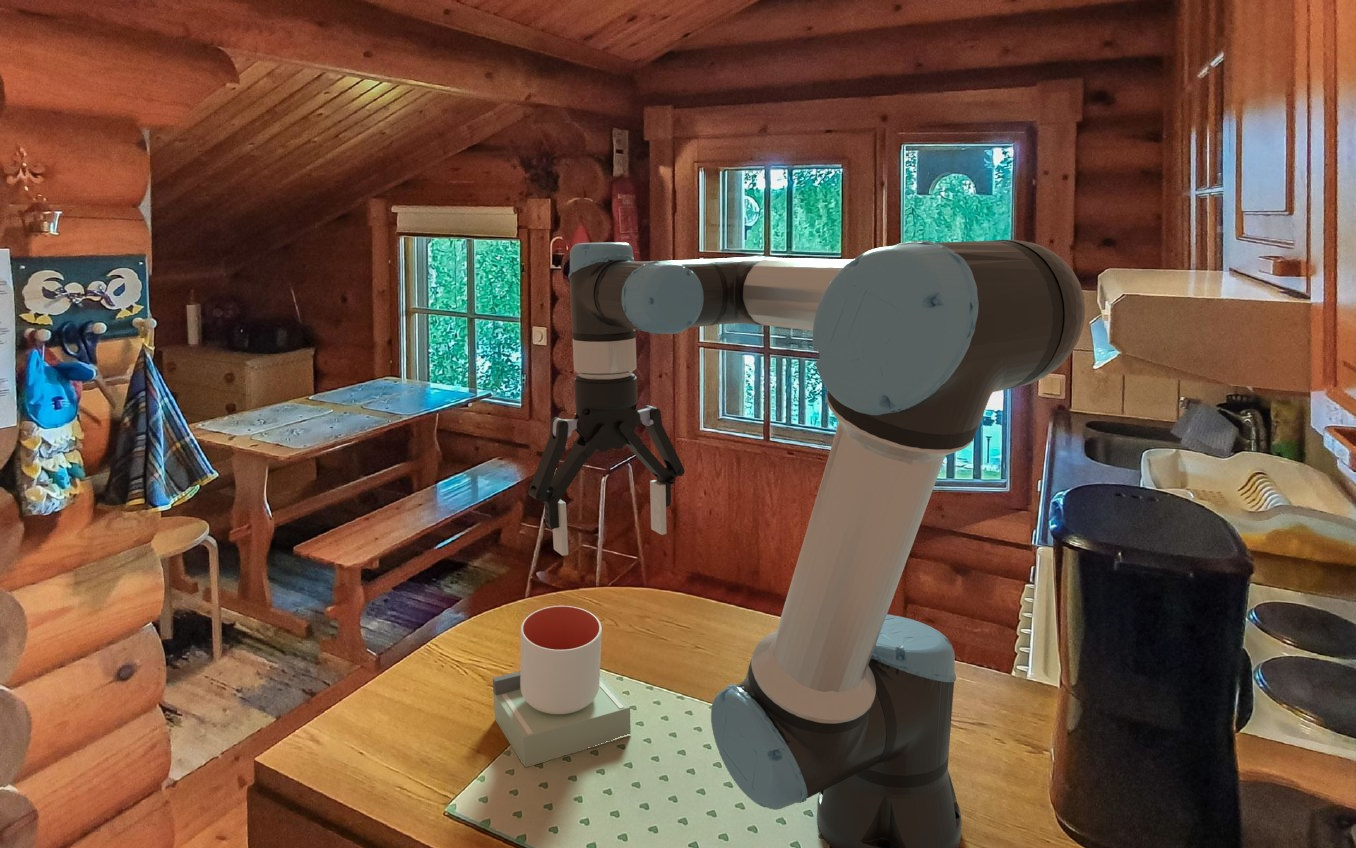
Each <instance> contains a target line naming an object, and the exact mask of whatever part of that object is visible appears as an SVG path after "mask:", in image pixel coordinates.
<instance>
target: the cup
mask: <svg viewBox="0 0 1356 848" xmlns="http://www.w3.org/2000/svg"><path fill="white" fill-rule="evenodd" d="M600 621H601V620H599V618H598V617H597V616H596V615H595V614H593V613H591V612H590V611H589V610H586V609H584V608H582V607H581V608H580V607H575V606H570V605H555V606H554V605H553V606H547V607H544V608H543V607H542V608H540V609H538V610H535V611H534V612H532V613H530V614H529V615H528V616H526V618H525V619H524V620H523V621H522V623H521V625H520V653H519V654H520V657H519V659H520V688H521V693H522V696H523V698H524V699H525V701H526V702H527V703H528V704H529V705H530V706H532V707H533V708H535V709H536V710H539V711H541V712H544V713H548V714H569V713H573V712H576V711H579V710H581V709H583V708H585V707H586V706H588V705H589V704H590V703H591V702H592V701H593V700H594V698H595V697H596V695H597V693H598V691H599V684H600V675H601V656H602V655H601V654H602V635H603V634H602V629H603V628H602V623H601V622H600Z"/></svg>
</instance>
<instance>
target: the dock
mask: <svg viewBox="0 0 1356 848" xmlns="http://www.w3.org/2000/svg"><path fill="white" fill-rule="evenodd" d="M492 691H493V707H494V720H495V722H496V724H497V725H498V727H499V728H500V730H501V731H502V733H503V734H504V735H503V736H504V737H505V738H506V740H507V741H508V743H509V745H510V746H511V747H512V749H513V751H514V752H515V755H517V757H518V759H519V760H520V762H521V763H522V766H523V767H524V768H528V767H531V766H535V765H538V764H543V763H544V762H548V761H551V760H552V761H553V760H555V759H558V758H562V757H565V756H568V755H571V753H572V754H575V753H578V752H577V751H579V752H581V751H580V750H582V751H585V750H587V749H586V748H588V747H592V748H594V747H593V746H595V745H598V744H601V743H605V742H606V741H611V740H613V739H615V738H618V737H620V736H624V735H627V734H631V707H630V706H629V705H628V703H626V701H625V700H624V699H623V698H622V697H621V695H620V694H618V693H617V692H616V690H615V689H614V688H613V687H612V685H610V684H609V682H608V681H606V679H605V678H604V677H603V676H602V675H601V674H600V684H599V691H598V693H597V695H596V697H595V698H594V700H593V701H592V702H591V703H590V704H589V705H588V706H586V707H585V708H583V709H581V710H579V711H576V712H573V713H569V714H548V713H544V712H541V711H539V710H536V709H535V708H533V707H532V706H530V705H529V704H528V703H527V702H526V701H525V699H524V698H523V696H522V693H521V688H520V671H515V672H513V673H508V674H504V675H500V676H496V677H492ZM631 735H632V734H631ZM605 744H606V743H605ZM595 747H596V746H595ZM584 749H585V750H584ZM564 755H565V756H564Z"/></svg>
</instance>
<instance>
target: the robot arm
mask: <svg viewBox="0 0 1356 848" xmlns="http://www.w3.org/2000/svg"><path fill="white" fill-rule="evenodd" d="M567 276H568V277H567V278H568V281H569V282H568V283H569V296H570V298H569V299H570V314H571V332H572V356H573V370H574V372H575V373H577V375H576V376H575V378H574V379H573V382H574V403H575V404H574V405H575V416H574V417H573V418H571V419H569V418H568V419H561V418H560V417H557V416H554V417H553V418H552V419H551V420H550V432H549V437H548V440H547V443H546V445H545V447H544V450H543V452H542V455H541V458H540V460H539V463H538V464H537V467H536V470H535V473H534V476H533V477H532V480H531V482H530V484H529V487H528V491H527V493H528V495H529V496H530V497H532V498H533V499H535V500H537V501H539V502H544V521H545V524H546V526H547V527H548V528H549V529H551V530H552V541H553V544H552V545H553V550H554V551H555V552H557V553H558V554H560V555H561V556H562V557H564V556H568V555H569V539H568V520H567V518H568V517H567V516H568V515H567V502H565V501H564V500H562V497H563V496H564V494H565V493H566V491H567V490H568V488H569V487H570V486H571V484H572V483H573V481H574V479H575V478H576V476H577V475H578V474H579V472H580V471H581V469H582V468H583V466H584V465H585V463H586V461H587V460H588V459H589V458H591V457H592V456H593V455H594V452H595V451H596V452H600V453H602V452H607V451H609V450H611V449H612V450H613V449H614V450H622V449H624V447H627V448H628V449H629V451H631V452H632V454H634V456H636V457H637V459H638V460H639V461H640V462H641V463H642V464H643V465H644V466H645V467H646V469H648V470H649V472H650V473H651V474H652V475H653V476H654V477H655V479H653V480H649V494H650V495H649V497H650V500H649V501H650V529H651V530H652V531H654V532H655V533H658V534H659V535H661V536H663V535H667V507H670V506H671V504H672V485H674V484H675V483H676V480H677V479H676V478H677V477H682V476H683V475H684V474H685V473H686V472H685V468H684V465H683V463H682V462H681V460H680V458H679V455H678V453H677V451H676V449H675V448H674V445H673V443H672V442H671V440H670V438H669V436H668V434H667V433H668V432H667V431H666V429H665V428H664V425H663V420H662V413H661V412H662V411H661V410H660V408H657V407H654V406H651V405H648V404H646V405H644V407H643V408H642V409H639V410H638V407H637V403H638V378H637V376H636V375H635V374H634V373H633V372H634V371H635V370H636V369H637V368H638V367H637V343H636V336H637V335H636V330H637V331H642V332H645V333H649V334H651V335H657V336H659V335H660V334H661V335H662V334H664V335H665V334H669V335H675V334H680V333H683V332H685V331H686V330H687V329H689V328H698V327H699V328H700V327H708V326H714V325H716V326H717V325H731V324H746V325H755V326H769V327H775V328H776V327H777V328H786V329H792V330H793V329H794V330H804V331H810V332H812V350H813V351H814V352H818V355H819V358H818V360H817V361H815V366H816V367H815V368H816V370H817V373H818V376H819V378H820V380H821V383H822V384H823V385H824V387H825V389H826V390H827V392H826V396H825V397H826V404H827V406H828V408H829V409H830V410H831V412H832V414H833V415H834V417H835V418H836V420H837V421H838V424H837V426H836V427H837V428H836V430H835V433H834V436H833V440H832V444H831V448H830V450H829V454H828V458H827V461H826V464H825V467H824V471H823V475H822V478H821V481H820V484H819V487H818V491H817V494H816V497H815V501H814V504H813V508H812V511H811V514H810V518H809V522H808V525H807V528H806V532H805V535H804V538H803V542H802V545H801V548H800V551H799V555H798V557H797V558H798V559H797V562H796V564H795V565H796V566H795V568H794V572H793V575H792V579H791V582H790V586H789V589H788V592H787V596H786V597H785V598H786V599H785V602H784V605H783V609H782V613H781V615H780V618H779V622H778V626H777V629H776V631H772V632H770V633H768V634H766V635H765V636H763V638H761V640H760V641H758V643H757V644H756V646H755V648H754V649H753V652H752V655H751V659H750V661H749V662H750V663H749V666H748V668H747V673H746V677H745V678H744V680H742V681H741V682H740V683H738V684H734V683H732V684H728V685H726V687H725V688H724V689H722V690H721V691H719V692H718V693H717V694H716V695H715V697H714V698H713V701H712V703H711V709H710V710H711V712H710V723H711V728H712V733H713V735H712V736H713V738H714V741H715V744H716V747H717V749H718V752H719V755H720V757H721V760H722V762H723V764H724V766H725V768H726V769H727V772H728V774H729V775H730V777H731V778H732V780H733V781H734V783H735V784H736V785H737V786H738V788H739V789H740V791H742V792H743V794H744V795H745V796H746V797H747V798H748V799H750V800H751V801H752V802H753V803H755V804H757V805H758V806H760V807H762V808H767V809H770V810H782V809H784V808H786V807H787V808H788V807H790V806H792V805H795V804H801V803H804V802H806V801H807V799H810V798H811V797H813V796H815V795H817V794H818V796H817V807H816V809H817V810H816V813H817V814H816V823H817V827H818V830H819V832H820V834H821V835H822V838H823V839H824V840H825V842H826V843H827V844H828V845H829V846H830V847H831V848H960V845H961V841H962V840H961V838H962V824H963V823H962V821H963V820H962V813H961V810H960V806H959V803H958V801H957V796H956V792H955V789H954V785H953V781H952V778H951V775H950V772H949V759H950V756H949V755H950V745H951V744H950V743H951V730H952V716H953V715H952V714H953V701H954V689H955V682H956V681H957V675H956V673H955V672H956V671H955V662H956V661H955V656H956V655H955V650H954V648H953V645H952V643H951V641H950V640H949V639H948V638H947V637H946V636H945V635H944V634H943V633H942V632H940V631H939V630H938V629H935V628H933V627H932V626H930V625H928V624H925V623H923V622H920V621H917V620H916V619H912V618H907V617H904V616H899V615H893V614H889V613H888V612H889V609H890V607H891V604H892V601H893V599H894V597H895V593H896V590H897V588H898V585H899V583H900V580H901V577H902V575H903V571H904V569H905V567H906V563H907V561H908V558H909V555H910V553H911V550H912V547H913V545H914V542H915V540H916V538H917V537H916V536H917V533H918V531H919V528H920V525H921V524H922V521H923V518H924V515H925V512H926V509H927V507H928V503H929V501H930V498H931V496H932V493H933V490H934V488H935V484H936V482H937V480H938V476H939V475H940V472H941V469H942V466H943V463H944V461H945V458H946V456H948V455H951V454H954V453H957V452H960V451H962V450H965V449H966V448H967V447H969V446H970V445H971V444H972V443H973V441H974V440H975V437H976V434H977V432H978V428H979V426H980V423H981V422H982V418H983V416H984V413H985V411H986V408H987V405H988V403H989V400H990V397H991V396H992V394H993V393H994V392H995V393H996V392H1001V391H1006V390H1009V389H1010V390H1011V389H1015V388H1018V387H1022V386H1023V387H1024V386H1026V385H1027V386H1028V385H1031V384H1033V383H1035V382H1038V381H1039V380H1041V379H1044V378H1046V377H1047V376H1050V374H1052V373H1053V372H1054V371H1056V370H1058V369H1059V368H1060V367H1061V365H1062V364H1063V363H1064V362H1065V361H1066V360H1067V359H1068V358H1069V357H1070V356H1071V355H1072V353H1073V351H1074V349H1075V348H1076V346H1077V344H1078V343H1079V340H1080V337H1081V336H1082V331H1083V330H1084V327H1085V318H1086V317H1085V316H1086V304H1085V296H1084V292H1083V289H1082V286H1081V282H1080V281H1079V279H1078V277H1077V275H1076V274H1075V272H1074V270H1073V269H1072V268H1071V267H1070V265H1069V264H1068V263H1067V262H1066V261H1065V260H1064V258H1062V257H1061V256H1059V255H1058V254H1056V252H1054V251H1053V250H1051V249H1049V248H1047V247H1045V246H1044V245H1041V244H1037V243H1034V242H1030V241H1025V240H1017V239H995V240H975V241H974V240H971V241H947V242H946V241H945V242H944V241H943V242H939V241H938V242H933V241H931V240H912V241H904V242H900V243H897V244H895V245H889V246H882V247H877V248H873V249H870V250H867V251H866V252H863V253H861V254H860V255H858V256H857V257H855V258H853V259H837V258H836V259H834V258H833V259H831V258H830V259H829V258H789V257H787V258H785V257H784V258H783V257H775V256H765V255H747V256H744V257H727V258H725V257H723V258H711V259H709V258H705V259H703V258H702V259H682V260H681V259H680V260H679V259H678V260H677V259H676V260H675V259H674V260H660V261H659V260H651V261H643V260H639V261H637V260H636V261H635V258H634V250H633V247H632V245H631V244H630V243H628V242H620V241H618V242H617V241H615V242H612V241H611V242H610V241H609V242H607V241H606V242H603V241H602V242H581V243H576V244H574V245H573V246H572V247H571V248H570V251H569V273H568V275H567ZM639 423H641V424H643V425H644V426H645V429H646V431H647V432H648V434H649V436H650V438H651V440H652V442H653V445H654V446H655V449H656V450H657V452H658V454H659V456H660V459H661V460H662V461H663V464H664V465H663V464H662V463H661V462H660V460H659V459H658V458H657V457H656V456H655V455H654V453H652V452H651V450H650V449H649V448H648V447H647V446H646V445H645V443H644V441H643V440H642V439H641V438H640V437H639V436H638V435H637V433H635V431H636V429H637V427H638V426H639ZM574 430H575V431H576V433H577V434H578V436H577V438H576V440H575V441H574V442H573V443H572V446H571V450H570V451H569V453H568V454H567V456H566V457H565V459H564V460H563V462H562V463H561V465H560V466H559V463H560V461H561V458H562V456H563V454H564V450H565V448H566V447H567V441H568V438H570V437H571V436H572V434H573V433H572V432H573V431H574ZM596 452H595V453H596ZM558 466H559V467H558ZM557 468H558V469H557Z"/></svg>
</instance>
